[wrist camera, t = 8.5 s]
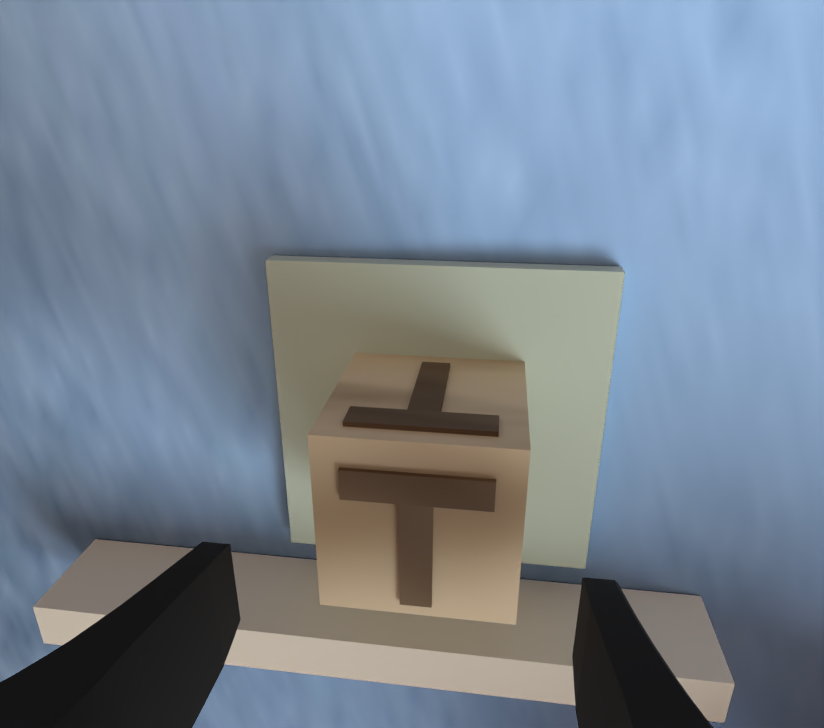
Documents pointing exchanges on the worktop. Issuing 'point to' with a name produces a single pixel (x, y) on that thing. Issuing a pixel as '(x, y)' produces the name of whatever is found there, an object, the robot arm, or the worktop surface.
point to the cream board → (396, 629)
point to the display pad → (458, 338)
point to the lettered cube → (422, 486)
